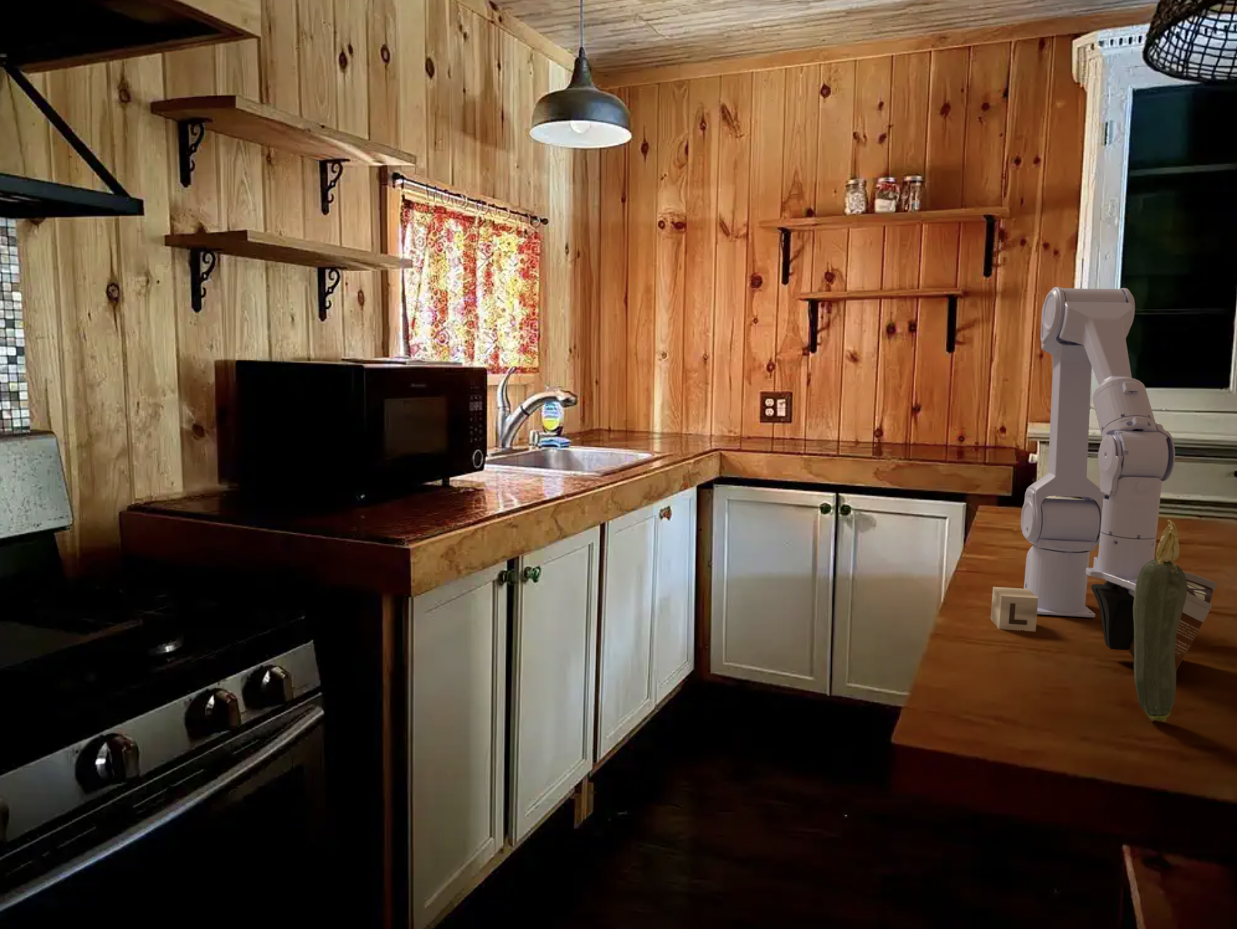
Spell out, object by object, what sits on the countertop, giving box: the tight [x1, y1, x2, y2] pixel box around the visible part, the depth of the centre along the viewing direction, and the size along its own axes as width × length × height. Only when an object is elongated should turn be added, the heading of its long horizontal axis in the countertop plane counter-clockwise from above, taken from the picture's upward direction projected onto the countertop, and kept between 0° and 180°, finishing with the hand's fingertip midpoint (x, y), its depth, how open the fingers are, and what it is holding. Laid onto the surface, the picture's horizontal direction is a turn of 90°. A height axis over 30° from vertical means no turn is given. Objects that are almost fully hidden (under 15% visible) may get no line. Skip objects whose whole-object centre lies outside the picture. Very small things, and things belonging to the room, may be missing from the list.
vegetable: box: [1133, 519, 1187, 723], centre depth 91 cm, size 4×4×20 cm
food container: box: [1128, 570, 1219, 671], centre depth 107 cm, size 12×6×10 cm, turn 145°
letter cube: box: [990, 586, 1038, 632], centre depth 123 cm, size 5×4×4 cm
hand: (1117, 647), depth 110 cm, fingers closed
